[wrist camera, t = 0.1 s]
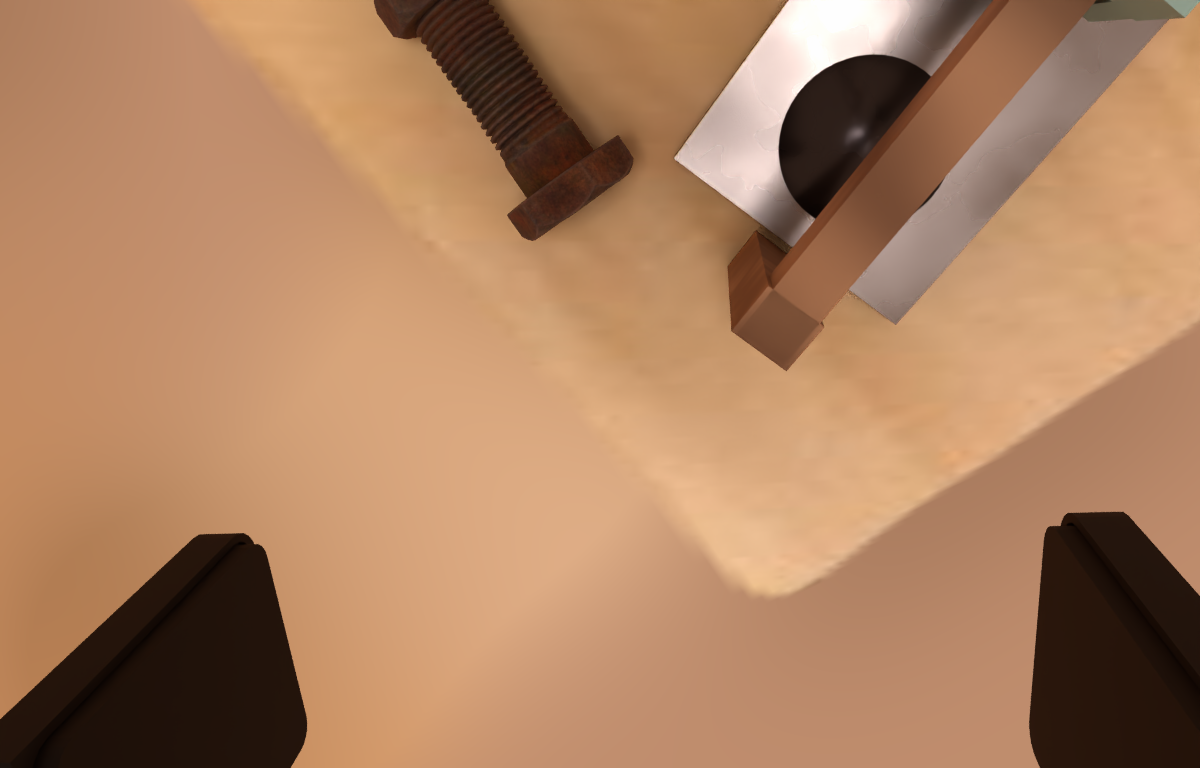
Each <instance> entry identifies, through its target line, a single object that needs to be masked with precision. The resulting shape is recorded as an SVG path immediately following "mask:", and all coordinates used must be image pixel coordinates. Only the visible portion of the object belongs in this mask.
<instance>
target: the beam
mask: <svg viewBox="0 0 1200 768" xmlns="http://www.w3.org/2000/svg"><path fill="white" fill-rule="evenodd" d="M1095 1H1096V0H993V1H992V2H991V4H990V5H989V6H988V7H987V9H986V10H985V11H984V12H983V13H982V15H981V16H980V17H979V18H978V20H977V21H976V22H975V23H974V25H973V26H972V27H971V28H970V29H969V31H968V32H967V33H966V34H965V36H964V37H963V38H962V39H961V41H960V42H959V43H958V44H957V45H956V47H955V48H954V49H953V50H952V52H951V53H950V54H949V55H948V57H947V58H946V59H945V60H944V61H943V63H942V64H941V65H940V66H939V68H938V69H937V70H936V71H935V73H934V74H933V75H932V76H931V78H930V79H929V80H928V81H927V82H926V84H925V85H924V86H923V87H922V89H921V90H920V91H919V92H918V94H917V95H916V96H915V97H914V98H913V100H912V101H911V102H910V103H909V105H908V106H907V107H906V108H905V110H904V111H903V112H902V113H901V114H900V116H899V117H898V118H897V119H896V121H895V122H894V123H893V124H892V126H891V127H890V128H889V129H888V130H887V132H886V133H885V134H884V135H883V137H882V138H881V139H880V140H879V142H878V143H877V144H876V145H875V147H874V148H873V149H872V150H871V151H870V153H869V154H868V155H867V156H866V158H865V159H864V160H863V161H862V163H861V164H860V165H859V166H858V167H857V169H856V170H855V171H854V172H853V174H852V175H851V176H850V177H849V179H848V180H847V181H846V182H845V183H844V185H843V186H842V187H841V188H840V190H839V191H838V192H837V193H836V195H835V196H834V197H833V198H832V199H831V201H830V202H829V203H828V204H827V206H826V207H825V208H824V209H823V211H822V212H821V213H820V214H819V216H818V217H817V218H816V219H815V220H814V222H813V223H812V224H811V225H810V227H809V228H808V229H807V230H806V232H805V233H804V234H803V235H802V236H801V238H800V239H799V240H798V241H797V243H796V244H795V245H794V246H793V248H792V249H791V250H790V251H789V252H788V254H786V253H785V252H784V251H782V250H781V249H780V248H778V247H777V246H776V245H774V244H773V243H772V242H770V241H769V240H768V239H766V238H765V237H764V236H762V235H761V234H760V233H758V232H757V231H755V232H754V234H753V235H752V236H751V238H750V239H749V240H748V241H747V243H746V244H745V245H744V246H743V248H742V249H741V250H740V251H739V253H738V254H737V255H736V257H735V258H734V259H733V260H732V262H731V263H730V264H729V265H728V280H729V297H730V314H731V331H732V332H733V333H735V334H736V335H738V336H739V337H740V338H742V339H743V340H744V341H746V342H747V343H749V344H750V345H751V346H753V347H754V348H755V349H757V350H758V351H759V352H761V353H762V354H764V355H765V356H766V357H768V358H769V359H770V360H772V361H773V362H775V363H776V364H777V365H779V366H780V367H781V368H783V369H784V370H786V371H787V370H788V369H789V368H790V366H791V365H792V364H793V363H794V362H795V361H796V359H797V358H798V357H799V356H800V355H801V354H802V352H803V351H804V350H805V349H806V348H807V347H808V345H809V344H810V343H811V342H812V341H813V340H814V338H815V337H816V336H817V335H818V334H819V333H820V332H821V330H822V329H823V328H824V325H823V323H822V320H823V319H824V318H825V317H826V316H827V315H828V313H829V312H830V311H831V310H832V309H833V308H834V306H835V305H836V304H837V303H838V302H839V301H840V299H841V298H842V297H843V296H844V295H845V294H846V292H847V291H848V290H849V289H850V288H851V287H852V285H853V284H854V283H855V282H856V281H857V279H858V278H859V277H860V276H861V275H862V274H863V272H864V271H865V270H866V269H867V268H868V267H869V265H870V264H871V263H872V262H873V261H874V260H875V258H876V257H877V256H878V255H879V254H880V253H881V251H882V250H883V249H884V248H885V247H886V246H887V244H888V243H889V242H890V241H891V240H892V239H893V237H894V236H895V235H896V234H897V233H898V232H899V230H900V229H901V228H902V227H903V226H904V225H905V223H906V222H907V221H908V220H909V219H910V218H911V216H912V215H913V214H914V213H915V212H916V211H917V209H918V208H919V207H920V206H921V205H922V204H923V202H924V201H925V200H926V199H927V198H928V197H929V195H930V194H931V193H932V192H933V191H934V190H935V188H936V187H937V186H938V185H939V184H940V183H941V181H942V180H943V179H944V178H945V177H946V176H947V174H948V173H949V172H950V171H951V170H952V168H953V167H954V166H955V165H956V164H957V163H958V161H959V160H960V159H961V158H962V157H963V156H964V154H965V153H966V152H967V151H968V150H969V149H970V147H971V146H972V145H973V144H974V143H975V142H976V140H977V139H978V138H979V137H980V136H981V135H982V133H983V132H984V131H985V130H986V129H987V128H988V126H989V125H990V124H991V123H992V122H993V121H994V119H995V118H996V117H997V116H998V115H999V114H1000V112H1001V111H1002V110H1003V109H1004V108H1005V107H1006V105H1007V104H1008V103H1009V102H1010V101H1011V100H1012V98H1013V97H1014V96H1015V95H1016V94H1017V93H1018V91H1019V90H1020V89H1021V88H1022V87H1023V86H1024V84H1025V83H1026V82H1027V81H1028V80H1029V79H1030V77H1031V76H1032V75H1033V74H1034V73H1035V72H1036V70H1037V69H1038V68H1039V67H1040V66H1041V65H1042V63H1043V62H1044V61H1045V60H1046V59H1047V58H1048V56H1049V55H1050V54H1051V53H1052V52H1053V50H1054V49H1055V48H1056V47H1057V46H1058V45H1059V43H1060V42H1061V41H1062V40H1063V39H1064V38H1065V36H1066V35H1067V34H1068V33H1069V32H1070V31H1071V29H1072V28H1073V27H1074V26H1075V25H1076V24H1077V22H1078V21H1079V20H1080V19H1081V18H1082V17H1083V15H1084V14H1085V13H1086V12H1087V11H1088V10H1089V8H1090V7H1091V6H1092V5H1093V4H1094V3H1095Z"/></svg>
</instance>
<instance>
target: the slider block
mask: <svg viewBox="0 0 1200 768" xmlns="http://www.w3.org/2000/svg"><path fill="white" fill-rule="evenodd" d="M1199 2H1200V0H1096V1H1095V3H1094V4H1093V5H1092V6H1091V7H1090V8H1089V10H1088V11H1087V12H1086V13H1085V14H1084V15H1083V18H1085V19H1086V20H1087V21H1088V22H1097V21H1111V20H1125V19H1133V20H1135V21H1143V20H1158V19H1173V18H1185V17H1186V16H1187V15H1188V14H1189V13H1190V12H1191V11H1192V9H1193V8H1194V7H1195V6H1196V5H1197V4H1198V3H1199Z"/></svg>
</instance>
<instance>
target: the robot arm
mask: <svg viewBox="0 0 1200 768" xmlns="http://www.w3.org/2000/svg"><path fill="white" fill-rule="evenodd" d="M1029 729H1030V738H1031V744H1032V748H1033V752H1034V754H1035V757H1036V759H1037V762H1038V764H1039V766H1040V768H1200V596H1199V595H1198V593H1197V592H1196V591H1195V590H1194V589H1193V588H1192V587H1191V586H1190V584H1189V583H1188V582H1187V581H1186V580H1185V579H1184V578H1183V577H1182V576H1181V574H1180V573H1179V572H1178V571H1177V570H1176V569H1175V568H1174V566H1173V565H1172V564H1171V563H1170V562H1169V561H1168V560H1167V559H1166V558H1165V556H1164V555H1163V554H1162V553H1161V552H1160V551H1159V550H1158V548H1157V547H1156V546H1155V545H1154V544H1153V543H1152V542H1151V541H1150V539H1149V538H1148V537H1147V536H1146V535H1145V534H1144V533H1143V532H1142V531H1141V529H1140V528H1139V527H1138V526H1137V525H1136V524H1135V523H1134V521H1133V520H1132V519H1131V518H1130V517H1129V516H1128V515H1127V514H1125V513H1124V512H1094V513H1093V512H1090V513H1067V514H1066V515H1065V516H1064V518H1063V520H1062V523H1061V526H1050V527H1048V528H1047V530H1046V533H1045V537H1044V547H1043V558H1042V570H1041V583H1040V595H1039V607H1038V620H1037V632H1036V645H1035V658H1034V669H1033V682H1032V693H1031V706H1030V720H1029ZM306 732H307V718H306V713H305V708H304V705H303V700H302V697H301V693H300V688H299V684H298V680H297V676H296V672H295V668H294V664H293V660H292V655H291V651H290V648H289V643H288V639H287V635H286V631H285V627H284V623H283V619H282V615H281V611H280V607H279V602H278V598H277V594H276V590H275V586H274V582H273V578H272V574H271V570H270V566H269V562H268V558H267V555H266V552H265V550H264V548H263V547H262V546H260V545H258V544H254V542H253V541H252V540H251V538H250V537H249V536H248V535H246V534H244V533H236V534H203V535H198V536H196V537H195V538H193V539H192V540H191V541H190V542H189V543H188V544H187V545H186V546H185V547H184V548H182V549H181V550H180V551H179V552H178V553H177V554H176V555H175V556H174V557H173V558H172V559H171V560H170V561H169V562H168V563H166V564H165V565H164V566H163V567H162V568H161V569H160V570H159V571H158V572H157V573H156V574H155V575H154V576H153V577H152V578H151V579H149V580H148V581H147V582H146V583H145V584H144V585H143V586H142V587H141V588H140V589H139V590H138V591H137V592H136V593H134V594H133V595H132V596H131V597H130V598H129V599H128V600H127V601H126V602H125V603H124V604H123V605H122V606H121V607H120V608H118V609H117V610H116V611H115V612H114V613H113V614H112V615H111V616H110V617H109V618H108V619H107V620H106V621H105V622H104V623H102V625H100V626H99V627H98V628H97V629H96V630H95V631H94V632H93V633H92V634H91V635H90V636H89V637H88V638H86V639H85V641H83V642H82V643H81V644H80V645H79V646H78V647H77V648H76V649H75V650H74V651H73V652H72V653H70V655H68V656H67V657H66V658H65V659H64V660H63V661H62V662H61V663H60V664H59V665H58V666H57V667H56V668H54V669H53V670H52V671H51V672H50V673H49V674H48V675H47V676H46V677H45V678H44V679H43V680H42V681H41V682H40V683H39V684H37V685H36V686H35V687H34V688H33V689H32V690H31V691H30V692H29V693H28V694H27V695H26V696H25V697H24V698H22V699H21V700H20V701H19V702H18V703H17V704H16V705H15V706H14V707H13V708H12V709H11V710H10V711H9V712H8V713H6V714H5V715H4V716H3V717H2V718H1V719H0V768H291V766H292V764H293V763H294V761H295V759H296V758H297V756H298V754H299V753H300V751H301V749H302V747H303V745H304V741H305V738H306Z"/></svg>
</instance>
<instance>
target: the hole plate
mask: <svg viewBox="0 0 1200 768" xmlns="http://www.w3.org/2000/svg"><path fill="white" fill-rule="evenodd" d="M992 1H993V0H787V2H786V3H785V5H784V6H783V7H782V9H781V10H780V11H779V13H778V14H777V16H776V17H775V18H774V20H773V21H772V22H771V24H770V25H769V27H768V28H767V29H766V31H765V32H764V34H763V35H762V36H761V38H760V39H759V40H758V42H757V43H756V45H755V46H754V47H753V49H752V50H751V52H750V53H749V54H748V56H747V57H746V58H745V60H744V61H743V63H742V64H741V65H740V67H739V68H738V69H737V71H736V72H735V74H734V75H733V76H732V78H731V79H730V81H729V82H728V83H727V85H726V86H725V87H724V89H723V90H722V92H721V93H720V94H719V96H718V97H717V99H716V100H715V101H714V103H713V104H712V105H711V107H710V108H709V110H708V111H707V112H706V114H705V115H704V116H703V118H702V119H701V121H700V122H699V123H698V125H697V126H696V128H695V129H694V130H693V132H692V133H691V134H690V136H689V137H688V139H687V140H686V141H685V143H684V144H683V146H682V147H681V148H680V150H679V151H678V152H677V154H676V155H675V157H674V159H675V160H676V161H678V162H679V163H680V164H682V165H683V166H684V167H686V168H687V169H688V170H690V171H691V172H692V173H694V174H695V175H696V176H698V177H699V178H700V179H702V180H703V181H704V182H706V183H707V184H708V185H710V186H711V187H712V188H714V189H715V190H716V191H718V192H719V193H720V194H722V195H723V196H724V197H726V198H727V199H728V200H730V201H731V202H732V203H734V204H735V205H736V206H738V207H739V208H740V209H742V210H743V211H744V212H746V213H747V214H748V215H750V216H751V217H752V218H754V219H755V220H756V221H758V222H759V223H761V224H762V225H763V226H765V227H766V228H767V229H769V230H770V231H771V232H773V233H774V234H775V235H777V236H778V237H779V238H781V239H782V240H783V241H785V242H786V243H787V244H789V245H790V246H791V247H793V246H794V245H795V244H796V243H797V241H798V240H799V239H800V238H801V236H802V235H803V234H804V233H805V232H806V230H807V229H808V228H809V227H810V225H811V224H812V223H813V222H814V220H815V219H816V218H817V217H818V216H819V214H820V213H821V212H822V211H823V209H824V208H825V207H826V206H827V204H828V203H829V202H830V201H831V199H832V198H833V197H834V196H835V195H836V193H837V192H838V191H839V190H840V188H841V187H842V186H843V185H844V183H845V182H846V181H847V180H848V179H849V177H850V176H851V175H852V174H853V172H854V171H855V170H856V169H857V167H858V166H859V165H860V164H861V163H862V161H863V160H864V159H865V158H866V156H867V155H868V154H869V153H870V151H871V150H872V149H873V148H874V147H875V145H876V144H877V143H878V142H879V140H880V139H881V138H882V137H883V135H884V134H885V133H886V132H887V130H888V129H889V128H890V127H891V126H892V124H893V123H894V122H895V121H896V119H897V118H898V117H899V116H900V114H901V113H902V112H903V111H904V110H905V108H906V107H907V106H908V105H909V103H910V102H911V101H912V100H913V98H914V97H915V96H916V95H917V94H918V92H919V91H920V90H921V89H922V87H923V86H924V85H925V84H926V82H927V81H928V80H929V79H930V78H931V76H932V75H933V74H934V73H935V71H936V70H937V69H938V68H939V66H940V65H941V64H942V63H943V61H944V60H945V59H946V58H947V57H948V55H949V54H950V53H951V52H952V50H953V49H954V48H955V47H956V45H957V44H958V43H959V42H960V41H961V39H962V38H963V37H964V36H965V34H966V33H967V32H968V31H969V29H970V28H971V27H972V26H973V25H974V23H975V22H976V21H977V20H978V18H979V17H980V16H981V15H982V13H983V12H984V11H985V10H986V9H987V7H988V6H989V5H990V4H991V2H992ZM1168 20H1169V19H1158V20H1143V21H1135V20H1133V19H1125V20H1111V21H1097V22H1088V21H1087V20H1086V19H1085V18H1083V17H1082V18H1081V19H1080V20H1079V21H1078V22H1077V24H1076V25H1075V26H1074V27H1073V28H1072V29H1071V31H1070V32H1069V33H1068V34H1067V35H1066V36H1065V38H1064V39H1063V40H1062V41H1061V42H1060V43H1059V45H1058V46H1057V47H1056V48H1055V49H1054V50H1053V52H1052V53H1051V54H1050V55H1049V56H1048V58H1047V59H1046V60H1045V61H1044V62H1043V63H1042V65H1041V66H1040V67H1039V68H1038V69H1037V70H1036V72H1035V73H1034V74H1033V75H1032V76H1031V77H1030V79H1029V80H1028V81H1027V82H1026V83H1025V84H1024V86H1023V87H1022V88H1021V89H1020V90H1019V91H1018V93H1017V94H1016V95H1015V96H1014V97H1013V98H1012V100H1011V101H1010V102H1009V103H1008V104H1007V105H1006V107H1005V108H1004V109H1003V110H1002V111H1001V112H1000V114H999V115H998V116H997V117H996V118H995V119H994V121H993V122H992V123H991V124H990V125H989V126H988V128H987V129H986V130H985V131H984V132H983V133H982V135H981V136H980V137H979V138H978V139H977V140H976V142H975V143H974V144H973V145H972V146H971V147H970V149H969V150H968V151H967V152H966V153H965V154H964V156H963V157H962V158H961V159H960V160H959V161H958V163H957V164H956V165H955V166H954V167H953V168H952V170H951V171H950V172H949V173H948V174H947V176H946V177H945V178H944V179H943V180H942V181H941V183H940V184H939V185H938V186H937V187H936V188H935V190H934V191H933V192H932V193H931V194H930V195H929V197H928V198H927V199H926V200H925V201H924V202H923V204H922V205H921V206H920V207H919V208H918V209H917V211H916V212H915V213H914V214H913V215H912V216H911V218H910V219H909V220H908V221H907V222H906V223H905V225H904V226H903V227H902V228H901V229H900V230H899V232H898V233H897V234H896V235H895V236H894V237H893V239H892V240H891V241H890V242H889V243H888V244H887V246H886V247H885V248H884V249H883V250H882V251H881V253H880V254H879V255H878V256H877V257H876V258H875V260H874V261H873V262H872V263H871V264H870V265H869V267H868V268H867V269H866V270H865V271H864V272H863V274H862V275H861V276H860V277H859V278H858V279H857V281H856V282H855V283H854V284H853V285H852V287H851V288H850V289H849V290H850V291H851V292H853V293H854V294H855V295H857V296H858V297H859V298H861V299H862V300H863V301H865V302H866V303H867V304H869V305H870V306H871V307H873V308H874V309H875V310H877V311H878V312H879V313H881V314H882V315H883V316H885V317H886V318H887V319H889V320H890V321H891V322H893V323H894V324H895V325H896V324H897V323H898V322H899V320H900V319H901V318H902V317H903V316H904V315H905V314H906V313H907V312H908V310H909V309H910V308H911V307H912V306H913V305H914V304H915V303H916V301H917V300H918V299H919V298H920V297H921V296H922V295H923V294H924V293H925V291H926V290H927V289H928V288H929V287H930V286H931V285H932V284H933V282H934V281H935V280H936V279H937V278H938V277H939V276H940V275H941V274H942V272H943V271H944V270H945V269H946V268H947V267H948V266H949V265H950V263H951V262H952V261H953V260H954V259H955V258H956V257H957V256H958V255H959V253H960V252H961V251H962V250H963V249H964V248H965V247H966V246H967V244H968V243H969V242H970V241H971V240H972V239H973V238H974V237H975V236H976V234H977V233H978V232H979V231H980V230H981V229H982V228H983V227H984V225H985V224H986V223H987V222H988V221H989V220H990V219H991V218H992V216H993V215H994V214H995V213H996V212H997V211H998V210H999V209H1000V208H1001V206H1002V205H1003V204H1004V203H1005V202H1006V201H1007V200H1008V199H1009V197H1010V196H1011V195H1012V194H1013V193H1014V192H1015V191H1016V190H1017V189H1018V187H1019V186H1020V185H1021V184H1022V183H1023V182H1024V181H1025V180H1026V178H1027V177H1028V176H1029V175H1030V174H1031V173H1032V172H1033V171H1034V170H1035V168H1036V167H1037V166H1038V165H1039V164H1040V163H1041V162H1042V161H1043V159H1044V158H1045V157H1046V156H1047V155H1048V154H1049V153H1050V152H1051V151H1052V149H1053V148H1054V147H1055V146H1056V145H1057V144H1058V143H1059V142H1060V140H1061V139H1062V138H1063V137H1064V136H1065V135H1066V134H1067V133H1068V132H1069V130H1070V129H1071V128H1072V127H1073V126H1074V125H1075V124H1076V123H1077V121H1078V120H1079V119H1080V118H1081V117H1082V116H1083V115H1084V114H1085V112H1086V111H1087V110H1088V109H1089V108H1090V107H1091V106H1092V105H1093V104H1094V102H1095V101H1096V100H1097V99H1098V98H1099V97H1100V96H1101V95H1102V93H1103V92H1104V91H1105V90H1106V89H1107V88H1108V87H1109V86H1110V85H1111V83H1112V82H1113V81H1114V80H1115V79H1116V78H1117V77H1118V76H1119V74H1120V73H1121V72H1122V71H1123V70H1124V69H1125V68H1126V67H1127V66H1128V64H1129V63H1130V62H1131V61H1132V60H1133V59H1134V58H1135V57H1136V55H1137V54H1138V53H1139V52H1140V51H1141V50H1142V49H1143V48H1144V47H1145V45H1146V44H1147V43H1148V42H1149V41H1150V40H1151V39H1152V38H1153V36H1154V35H1155V34H1156V33H1157V32H1158V31H1159V30H1160V29H1161V28H1162V26H1163V25H1164V24H1165V23H1166V22H1167V21H1168Z"/></svg>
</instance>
